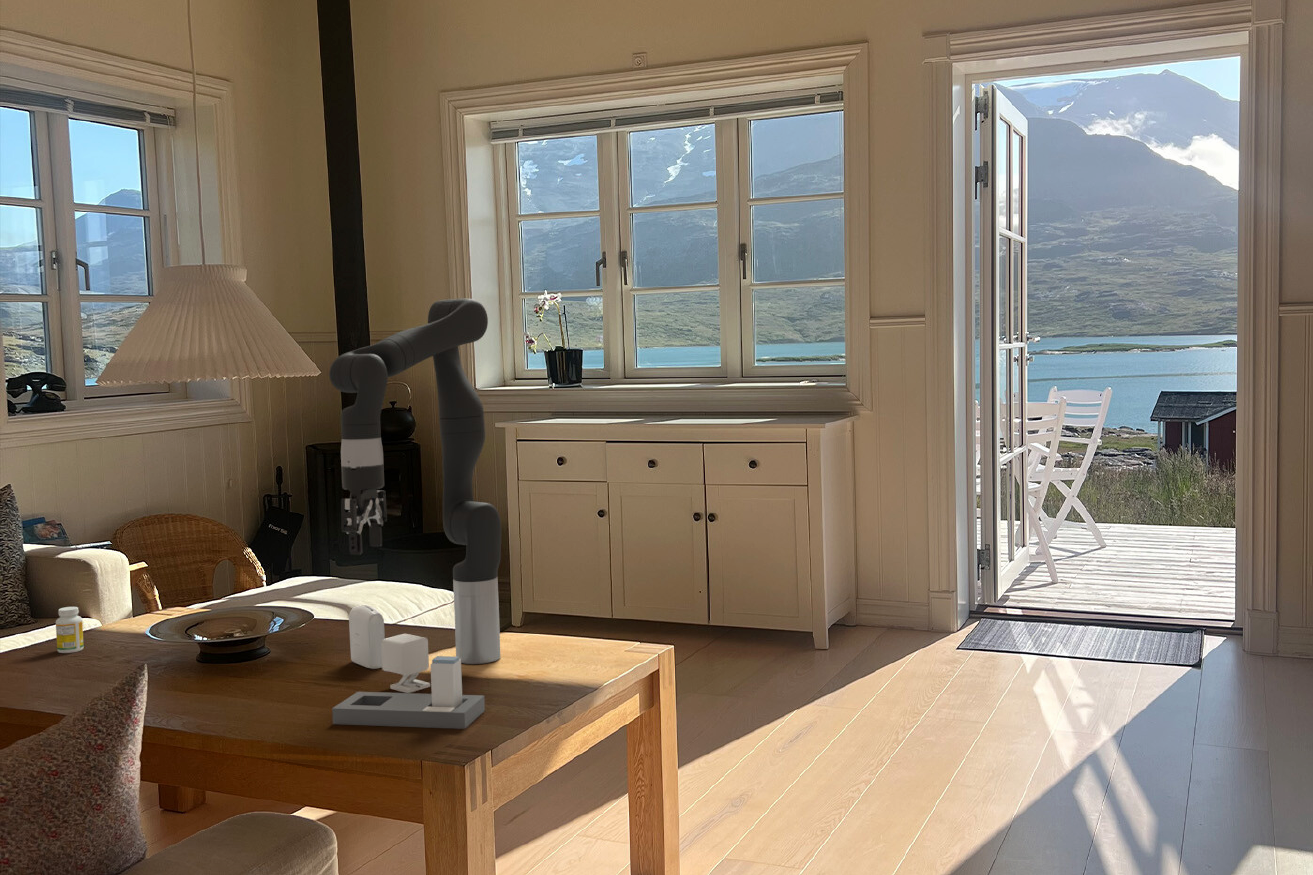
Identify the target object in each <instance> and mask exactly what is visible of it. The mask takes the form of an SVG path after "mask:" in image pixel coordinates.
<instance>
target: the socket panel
mask: <svg viewBox="0 0 1313 875" xmlns="http://www.w3.org/2000/svg"><path fill="white" fill-rule="evenodd" d="M462 701H463V704H461V705H460V706H459V707H458V708H455V707H432V693H418V692H417V693H416V692H415V693H414V692H411V693H405V692H381V691H379V692H378V691H356V692H355V693H354V694H352V695H350V696H349V697H347V698H346V699H345V700H342V701H341V702H340V703H338V704H336V705H335V706H333V707H332V708H331V710H332V712H331V713H332V725H346V726H348V725H350V726H353V725H354V726H372V727H373V726H377V727H378V726H379V727H380V726H381V727H404V728H405V727H406V728H407V727H409V728H427V729H428V728H432V729H433V728H434V729H458V730H460V729H462V730H463V729H464V730H465V729H466V728H468V727H469V726H470V725H471V724H472V723H473V722H474V721H476V719H477V718H479V717H480V716H481V715H482V714H483V713H484V712H485V710H486V706H485V705H486V704H485V702H486V701H485V695H481V694H480V695H479V694H478V695H477V694H462Z"/></svg>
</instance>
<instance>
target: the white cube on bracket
mask: <svg viewBox="0 0 1313 875" xmlns="http://www.w3.org/2000/svg"><path fill="white" fill-rule="evenodd" d="M381 644H382V668H381V669H382V671H384V672H389V673H390V672H391V673H393V674H394V673H395V674H398V675H401V676H402V677H401V678H400V679H399V682H396V683H393V684H390V689H391V690H395V691H397V692H400V693H414V692H416V691H420V690H424V689H427V688H431V682H427V681H424V680H421V679H417V677H418V676H419V674H420V673H421V672H424V671H427V670H428V669H429V667H430V662H429V661H430V657H429V641H428V637H424V636H419V635H413V634H410V633H402V634H397V635H393V636H391V637H386V638H385V639H383V640H382V643H381Z"/></svg>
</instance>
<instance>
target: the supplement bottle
mask: <svg viewBox="0 0 1313 875" xmlns="http://www.w3.org/2000/svg"><path fill="white" fill-rule="evenodd" d="M57 611H58V616H59V617H58V618H57V619H56V620H55V633H56V635H55V636H56V648H57V650H56V651H57V652H58V653H60V654H70V653H73V654H74V653H77V652H81V651H82V650H83V649H85V648H84V627H83V618H82V617H81V616H79V613H80V610H79V607H77V606H66V607H61V608H59V609H58V610H57Z"/></svg>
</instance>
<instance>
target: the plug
mask: <svg viewBox="0 0 1313 875" xmlns="http://www.w3.org/2000/svg"><path fill="white" fill-rule="evenodd" d="M462 676H463V675H462V663H461V659H459V657H456V656H445V655H444V656H443V655H436V656H435V657H434V658H432V659H431V663H430V688H431V694H432V707H455V708H458V707H459V706H460V705H461V704H463V701H462V695H463V682H462V679H463V678H462Z"/></svg>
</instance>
